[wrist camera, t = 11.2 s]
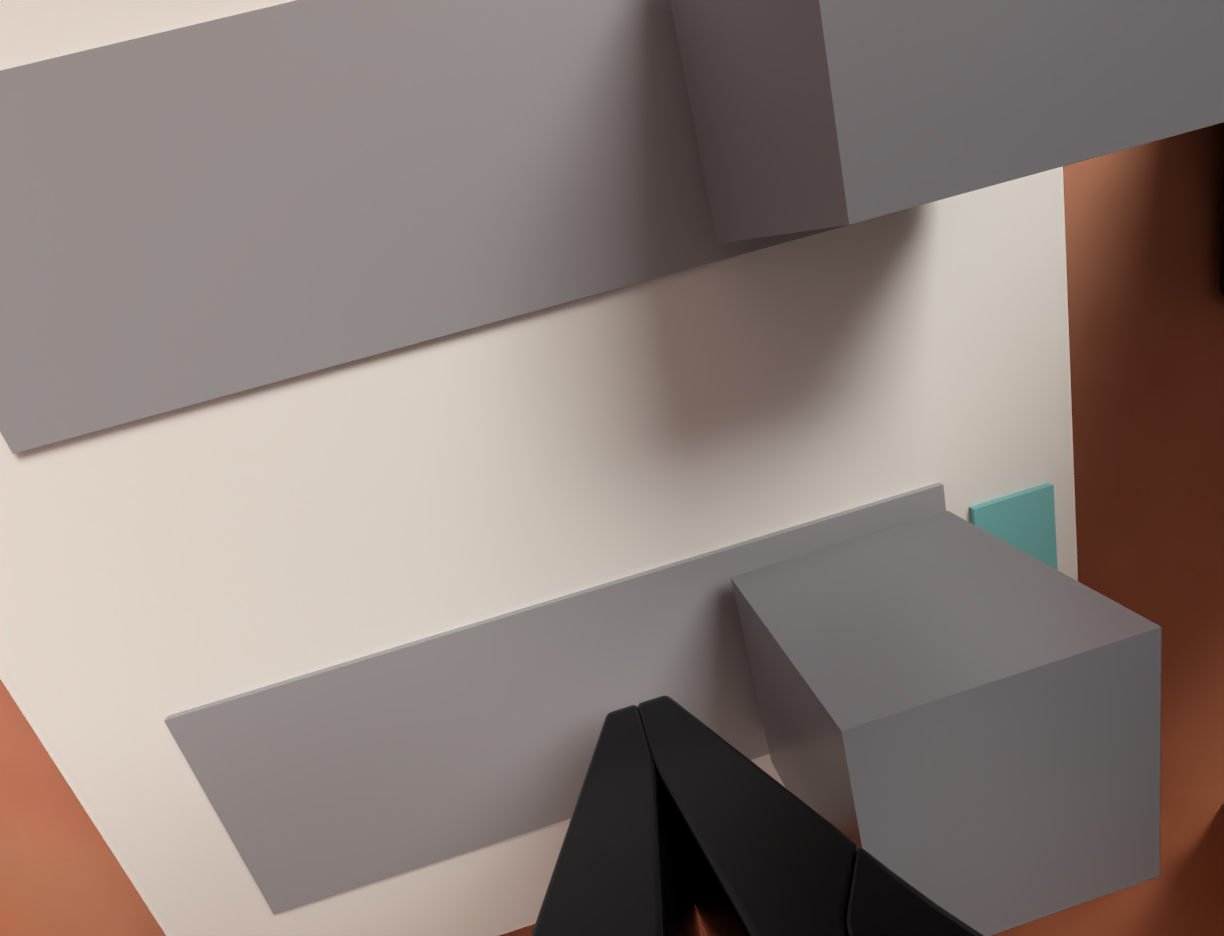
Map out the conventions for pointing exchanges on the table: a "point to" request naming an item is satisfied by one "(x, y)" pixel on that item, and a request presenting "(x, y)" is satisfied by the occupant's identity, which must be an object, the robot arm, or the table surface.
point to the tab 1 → (928, 97)
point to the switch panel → (442, 430)
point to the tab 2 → (963, 716)
